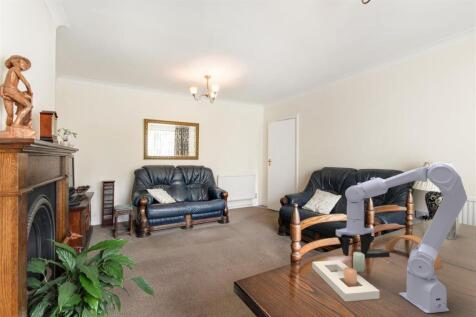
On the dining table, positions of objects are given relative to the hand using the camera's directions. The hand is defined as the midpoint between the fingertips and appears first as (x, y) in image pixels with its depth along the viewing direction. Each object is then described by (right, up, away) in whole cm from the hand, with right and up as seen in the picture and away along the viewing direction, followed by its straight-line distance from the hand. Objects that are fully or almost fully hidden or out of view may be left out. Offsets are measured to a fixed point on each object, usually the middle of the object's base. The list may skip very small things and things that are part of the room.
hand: (354, 254), depth 84 cm
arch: (+35, -10, +18) cm, 41 cm away
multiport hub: (+19, -10, +21) cm, 30 cm away
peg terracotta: (-5, -9, -6) cm, 12 cm away
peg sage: (+5, -10, +7) cm, 13 cm away
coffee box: (+76, -10, +47) cm, 90 cm away
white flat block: (-5, -9, -1) cm, 11 cm away
